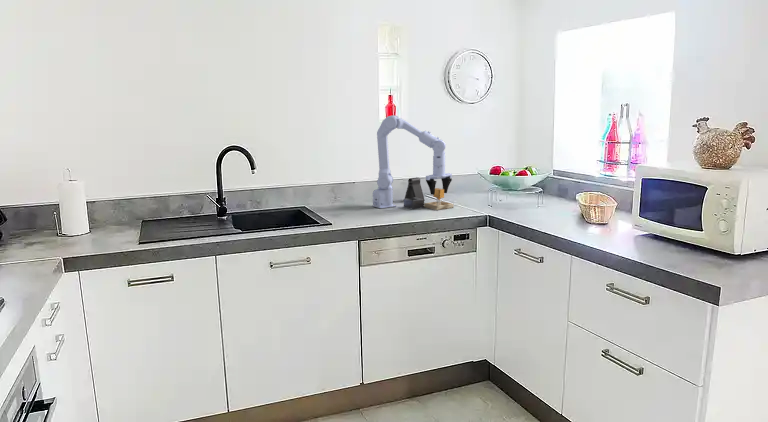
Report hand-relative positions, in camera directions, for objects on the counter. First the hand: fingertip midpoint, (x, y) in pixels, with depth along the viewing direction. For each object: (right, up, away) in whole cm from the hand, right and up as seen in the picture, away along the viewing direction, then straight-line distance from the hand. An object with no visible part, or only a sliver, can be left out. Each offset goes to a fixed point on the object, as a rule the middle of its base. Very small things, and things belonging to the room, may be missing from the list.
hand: (438, 193), depth 275 cm
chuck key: (0, -6, +1) cm, 6 cm away
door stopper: (-11, -3, +20) cm, 23 cm away
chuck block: (-12, -6, +3) cm, 14 cm away
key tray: (0, -7, +1) cm, 7 cm away
